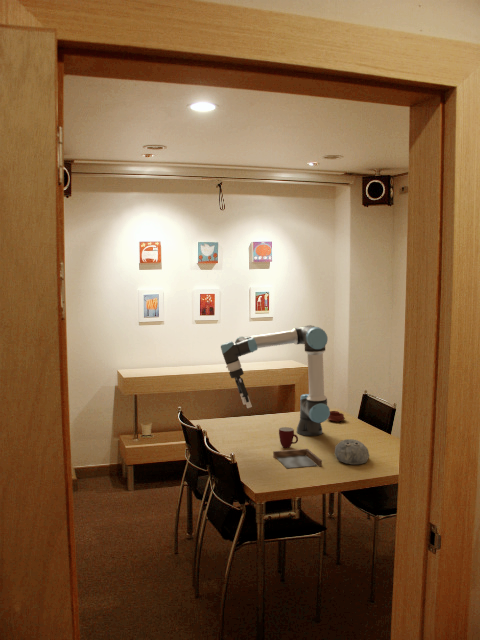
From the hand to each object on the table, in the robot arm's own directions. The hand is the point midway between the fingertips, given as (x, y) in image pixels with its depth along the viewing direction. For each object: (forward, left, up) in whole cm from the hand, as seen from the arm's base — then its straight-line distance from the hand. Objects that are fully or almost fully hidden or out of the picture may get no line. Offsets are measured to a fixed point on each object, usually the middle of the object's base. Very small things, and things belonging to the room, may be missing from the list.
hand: (247, 405), depth 304 cm
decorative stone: (-45, +37, -22) cm, 62 cm away
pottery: (-70, -38, -22) cm, 83 cm away
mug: (-20, +11, -22) cm, 32 cm away
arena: (-16, +34, -21) cm, 43 cm away
